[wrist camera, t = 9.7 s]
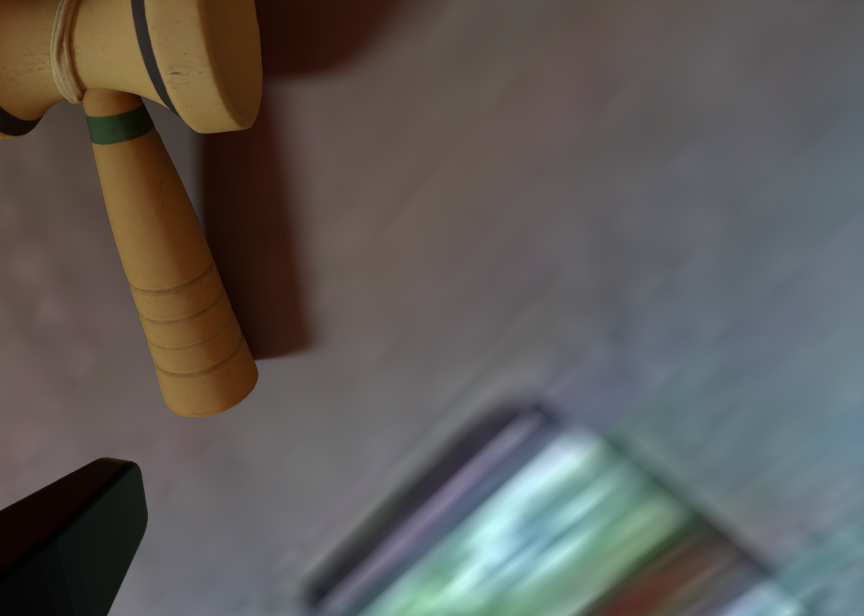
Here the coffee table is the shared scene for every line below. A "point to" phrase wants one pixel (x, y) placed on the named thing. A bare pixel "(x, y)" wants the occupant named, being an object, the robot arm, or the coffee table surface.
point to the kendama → (149, 156)
